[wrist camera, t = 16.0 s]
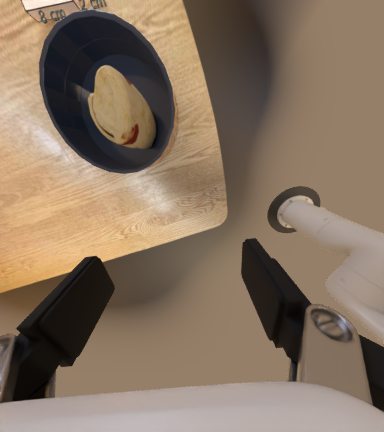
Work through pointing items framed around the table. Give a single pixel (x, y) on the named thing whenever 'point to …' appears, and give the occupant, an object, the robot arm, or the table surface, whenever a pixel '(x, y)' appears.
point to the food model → (121, 110)
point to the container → (53, 8)
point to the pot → (85, 84)
